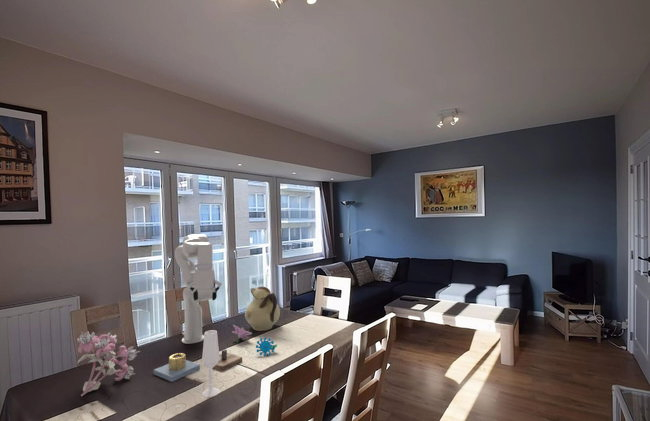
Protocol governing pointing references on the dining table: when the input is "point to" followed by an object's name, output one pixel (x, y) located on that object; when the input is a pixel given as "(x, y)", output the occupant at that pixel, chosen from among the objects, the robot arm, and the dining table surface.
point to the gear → (265, 346)
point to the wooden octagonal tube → (177, 361)
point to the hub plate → (176, 371)
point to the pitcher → (262, 309)
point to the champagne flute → (210, 359)
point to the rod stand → (227, 361)
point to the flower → (107, 348)
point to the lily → (241, 332)
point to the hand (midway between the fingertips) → (205, 299)
